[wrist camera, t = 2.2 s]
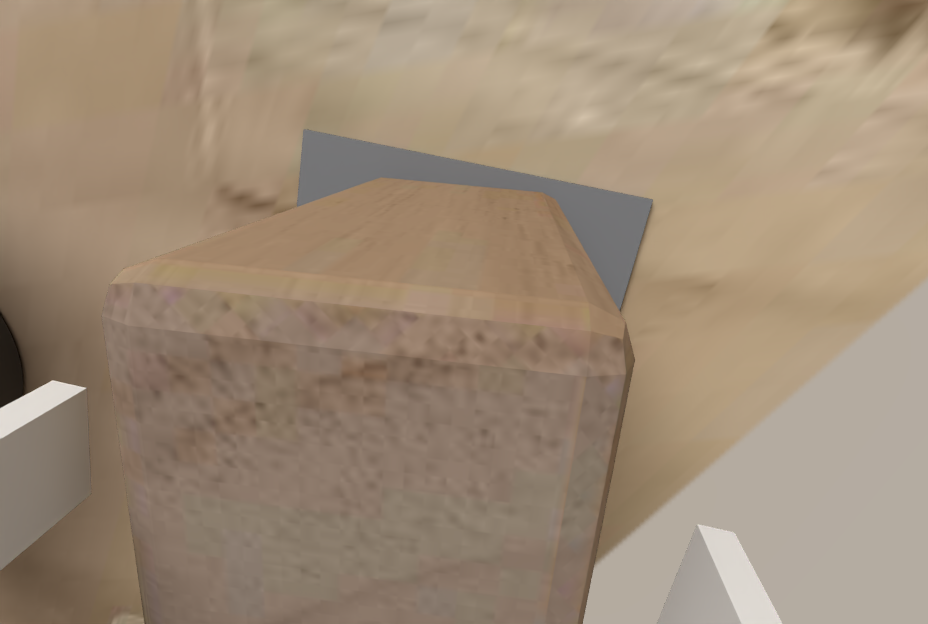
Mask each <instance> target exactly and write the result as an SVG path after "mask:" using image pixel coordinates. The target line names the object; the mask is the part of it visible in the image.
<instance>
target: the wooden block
mask: <svg viewBox="0 0 928 624" xmlns="http://www.w3.org/2000/svg"><path fill="white" fill-rule="evenodd" d="M102 322H103V329H104V336H105V343H106V350H107V358H108V365H109V372H110V379H111V386H112V393H113V400H114V407H115V415H116V422H117V429H118V436H119V443H120V450H121V457H122V465H123V472H124V479H125V486H126V493H127V500H128V507H129V515H130V522H131V529H132V536H133V543H134V550H135V557H136V565H137V572H138V579H139V586H140V593H141V600H142V607H143V615H144V622H145V624H583V618H584V613H585V608H586V603H587V598H588V593H589V588H590V583H591V578H592V573H593V568H594V563H595V558H596V553H597V548H598V543H599V538H600V533H601V528H602V523H603V518H604V513H605V508H606V503H607V498H608V493H609V488H610V483H611V478H612V472H613V467H614V462H615V457H616V452H617V447H618V442H619V437H620V432H621V427H622V422H623V417H624V412H625V407H626V402H627V397H628V392H629V387H630V382H631V377H632V372H633V367H634V362H635V358H634V354H633V350H632V346H631V342H630V338H629V334H628V330H627V326H626V322H625V320H624V318H623V316H622V315H621V313H620V311H619V309H618V308H617V306H616V304H615V302H614V301H613V299H612V297H611V295H610V294H609V292H608V290H607V288H606V287H605V285H604V283H603V281H602V280H601V278H600V276H599V274H598V273H597V271H596V269H595V267H594V266H593V264H592V262H591V260H590V259H589V257H588V255H587V253H586V252H585V250H584V248H583V246H582V245H581V243H580V241H579V239H578V238H577V236H576V234H575V232H574V231H573V229H572V227H571V225H570V224H569V222H568V220H567V218H566V217H565V215H564V213H563V211H562V209H561V208H560V206H559V204H558V202H557V201H556V200H555V199H554V198H552V197H550V196H548V195H546V194H544V193H543V192H533V191H522V190H512V189H501V188H490V187H479V186H468V185H458V184H447V183H436V182H425V181H414V180H404V179H393V178H382V177H381V178H378V179H375V180H372V181H369V182H366V183H363V184H360V185H358V186H355V187H352V188H349V189H346V190H343V191H341V192H338V193H335V194H332V195H329V196H327V197H324V198H321V199H318V200H315V201H313V202H310V203H307V204H304V205H301V206H299V207H296V208H293V209H290V210H287V211H284V212H282V213H279V214H276V215H273V216H270V217H268V218H265V219H262V220H259V221H256V222H254V223H251V224H248V225H245V226H242V227H240V228H237V229H234V230H231V231H228V232H225V233H223V234H220V235H217V236H214V237H211V238H209V239H206V240H203V241H200V242H197V243H195V244H192V245H189V246H186V247H183V248H181V249H178V250H175V251H172V252H169V253H166V254H164V255H161V256H158V257H155V258H152V259H150V260H147V261H144V262H141V263H138V264H136V265H133V266H130V267H127V268H124V269H123V270H122V271H121V272H120V273H119V274H118V275H117V276H116V278H115V279H114V280H113V281H112V282H111V283H110V284H109V288H108V292H107V296H106V300H105V305H104V309H103V313H102Z"/></svg>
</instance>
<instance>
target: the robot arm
mask: <svg viewBox="0 0 928 624" xmlns="http://www.w3.org/2000/svg"><path fill="white" fill-rule="evenodd" d="M22 393H23V376H22V368H21V363H20V359H19V355H18V352H17V349H16V346H15V343H14V341H13V338H12V336H11V334H10V332H9V330H8V328H7V326H6V324H5V322H4V320H3V319H2V317H1V315H0V570H2V569H3V568H4V567H5V566H6V565H8V564H9V563H10V562H11V561H12V560H14V559H15V558H16V557H17V556H18V555H19V554H21V553H22V552H23V551H24V550H25V549H27V548H28V547H29V546H30V545H31V544H33V543H34V542H35V541H36V540H37V539H38V538H40V537H41V536H42V535H43V534H44V533H46V532H47V531H48V530H49V529H50V528H51V527H53V526H54V525H55V524H56V523H57V522H59V521H60V520H61V519H62V518H63V517H65V516H66V515H67V514H68V513H69V512H70V511H72V510H73V509H74V508H75V507H76V506H78V505H79V504H80V503H81V502H82V501H84V500H85V499H86V498H87V497H88V496H89V495H91V494H92V493H91V471H90V448H89V425H88V403H87V388H85V387H80V386H76V385H71V384H67V383H62V382H58V381H53V380H52V381H51V382H49V383H47V384H45V385H43V386H41V387H39V388H37V389H36V390H34V391H32V392H30V393H28V394H26V395H24V396H22ZM657 624H782V622H781V620H780V618H779V616H778V614H777V612H776V611H775V609H774V607H773V605H772V603H771V601H770V599H769V597H768V595H767V593H766V592H765V590H764V588H763V586H762V584H761V582H760V580H759V578H758V577H757V575H756V573H755V571H754V569H753V567H752V565H751V563H750V561H749V559H748V557H747V556H746V554H745V552H744V550H743V548H742V546H741V544H740V542H739V541H738V538H737V537H736V535H735V533H734V532H730V531H726V530H721V529H717V528H712V527H708V526H703V525H699V524H697V526H696V528H695V531H694V533H693V536H692V538H691V541H690V543H689V546H688V548H687V550H686V553H685V556H684V558H683V560H682V563H681V565H680V568H679V570H678V573H677V575H676V578H675V580H674V583H673V585H672V587H671V590H670V592H669V595H668V597H667V600H666V602H665V605H664V607H663V610H662V612H661V615H660V617H659V620H658V622H657Z"/></svg>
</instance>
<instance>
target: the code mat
mask: <svg viewBox="0 0 928 624" xmlns="http://www.w3.org/2000/svg"><path fill="white" fill-rule="evenodd" d="M381 177H382V178H393V179H404V180H414V181H425V182H436V183H447V184H458V185H468V186H479V187H490V188H501V189H512V190H522V191H533V192H543V193H544V194H546V195H548V196H550V197H552V198H554V199H555V200H556V201H557V202H558V204H559V206H560V208H561V209H562V211H563V213H564V215H565V217H566V218H567V220H568V222H569V224H570V225H571V227H572V229H573V231H574V232H575V234H576V236H577V238H578V239H579V241H580V243H581V245H582V246H583V248H584V250H585V252H586V253H587V255H588V257H589V259H590V260H591V262H592V264H593V266H594V267H595V269H596V271H597V273H598V274H599V276H600V278H601V280H602V281H603V283H604V285H605V287H606V288H607V290H608V292H609V294H610V295H611V297H612V299H613V301H614V302H615V304H616V306H617V308H618V309H619V311H620V308H621V305H622V302H623V298H624V295H625V292H626V288H627V285H628V282H629V278H630V275H631V272H632V268H633V265H634V262H635V258H636V255H637V252H638V248H639V245H640V242H641V238H642V235H643V232H644V228H645V225H646V222H647V218H648V215H649V212H650V208H651V205H652V202H653V200H652V199H648V198H643V197H638V196H633V195H628V194H623V193H618V192H613V191H608V190H603V189H598V188H593V187H588V186H583V185H578V184H573V183H568V182H563V181H558V180H553V179H548V178H544V177H539V176H534V175H529V174H524V173H519V172H514V171H509V170H504V169H499V168H494V167H489V166H484V165H479V164H474V163H469V162H464V161H459V160H454V159H449V158H444V157H440V156H435V155H430V154H425V153H420V152H415V151H410V150H405V149H400V148H395V147H390V146H385V145H380V144H375V143H370V142H365V141H360V140H355V139H350V138H345V137H340V136H336V135H331V134H326V133H321V132H316V131H311V130H306V129H304V131H303V142H302V154H301V165H300V177H299V188H298V200H297V207H299V206H301V205H304V204H307V203H310V202H313V201H315V200H318V199H321V198H324V197H327V196H329V195H332V194H335V193H338V192H341V191H343V190H346V189H349V188H352V187H355V186H358V185H360V184H363V183H366V182H369V181H372V180H375V179H378V178H381Z"/></svg>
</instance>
